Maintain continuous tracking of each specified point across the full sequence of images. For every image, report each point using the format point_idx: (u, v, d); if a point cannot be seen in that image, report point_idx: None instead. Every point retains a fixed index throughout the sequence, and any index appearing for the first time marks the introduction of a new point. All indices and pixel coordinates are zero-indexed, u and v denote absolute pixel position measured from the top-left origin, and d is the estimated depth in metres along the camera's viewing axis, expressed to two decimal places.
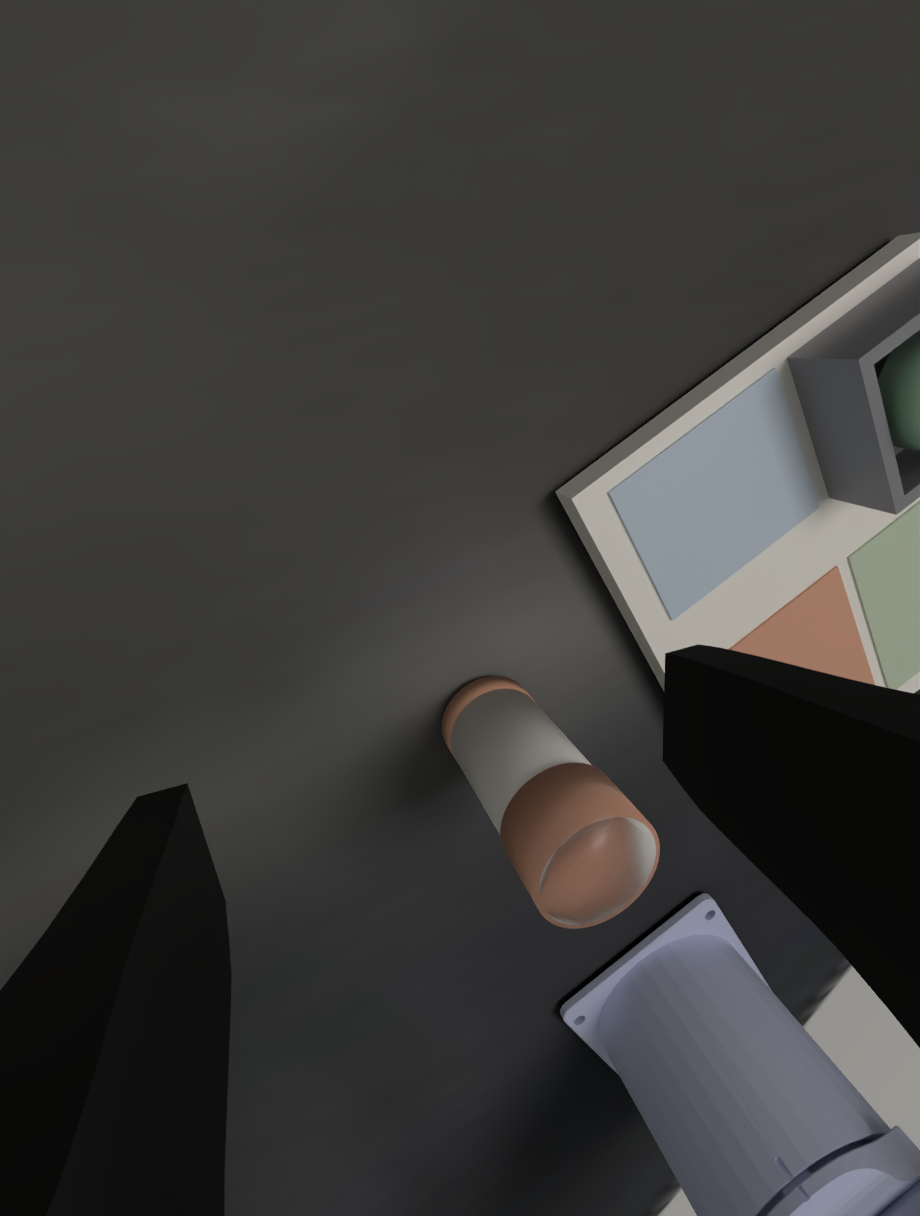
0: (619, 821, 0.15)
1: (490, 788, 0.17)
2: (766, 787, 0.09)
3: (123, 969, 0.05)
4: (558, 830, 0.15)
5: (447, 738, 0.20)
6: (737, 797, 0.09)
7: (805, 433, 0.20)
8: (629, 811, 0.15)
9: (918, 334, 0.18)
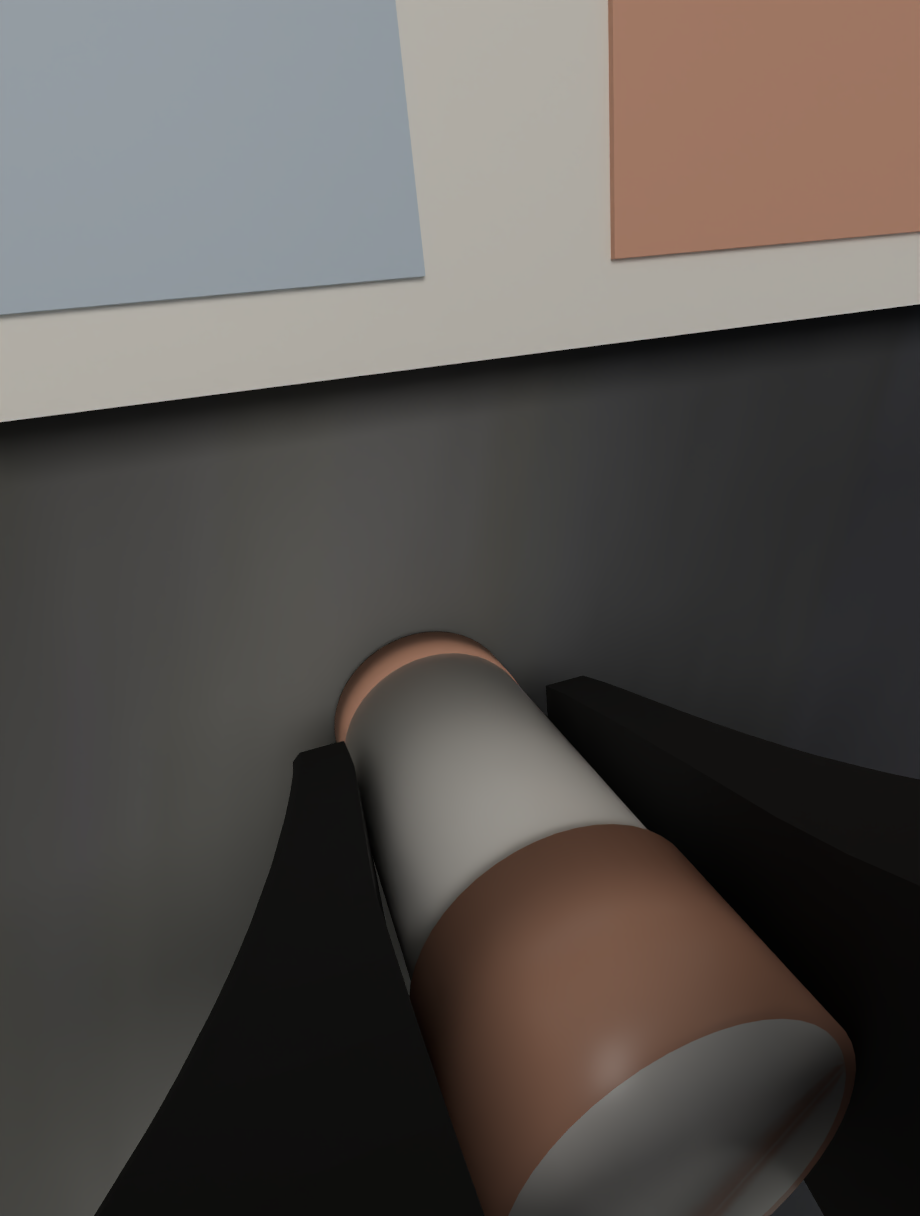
0: (570, 1141, 0.04)
1: None
2: None
3: (371, 886, 0.06)
4: None
5: None
6: None
7: None
8: (571, 1091, 0.04)
9: None
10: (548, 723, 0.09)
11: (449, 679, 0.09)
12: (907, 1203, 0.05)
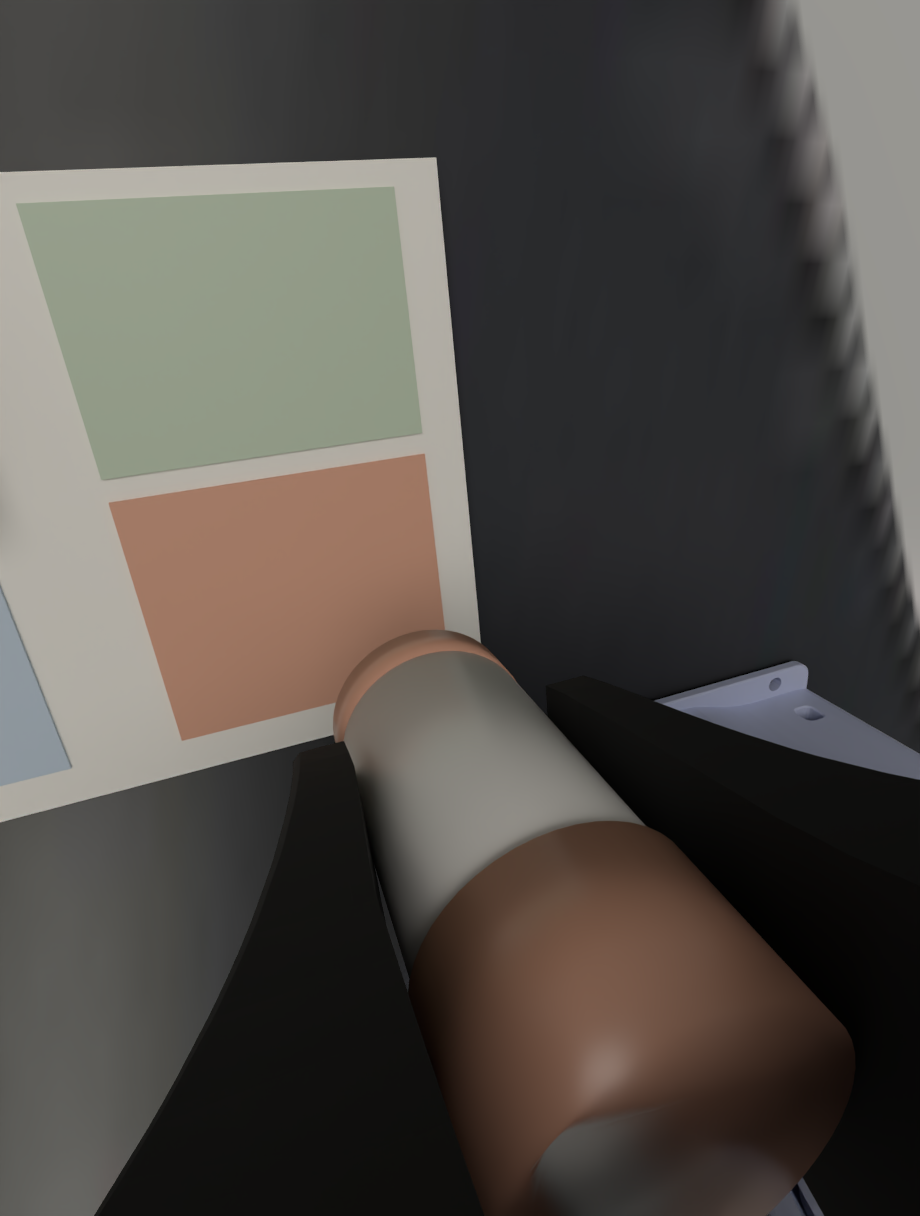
0: (572, 1136, 0.04)
1: None
2: None
3: (371, 886, 0.06)
4: None
5: None
6: None
7: None
8: (571, 1084, 0.04)
9: None
10: (547, 721, 0.09)
11: (448, 676, 0.09)
12: (905, 1203, 0.05)
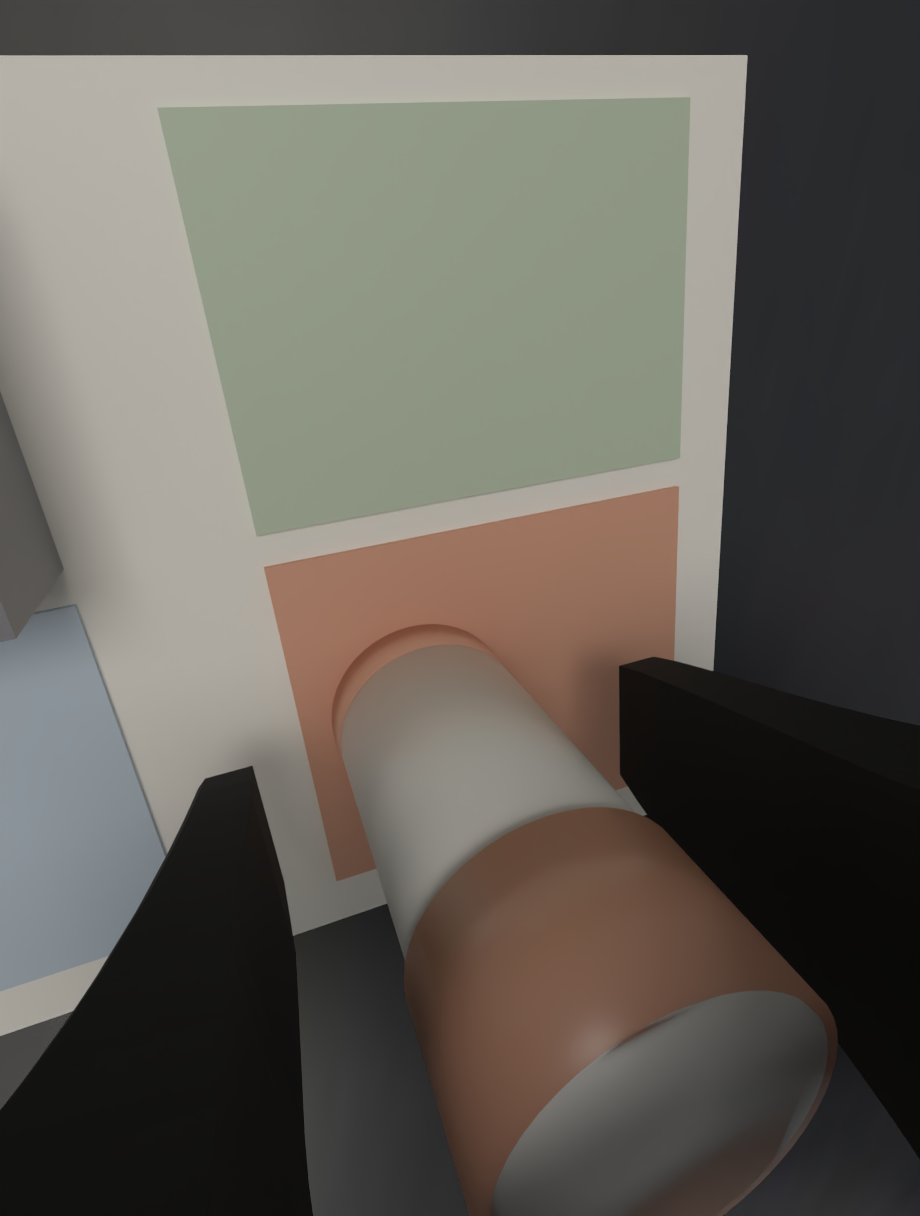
0: (559, 1106, 0.04)
1: None
2: (715, 805, 0.09)
3: (229, 934, 0.05)
4: (468, 1210, 0.05)
5: None
6: (688, 814, 0.09)
7: None
8: (558, 1056, 0.04)
9: None
10: (542, 712, 0.09)
11: (445, 669, 0.09)
12: None
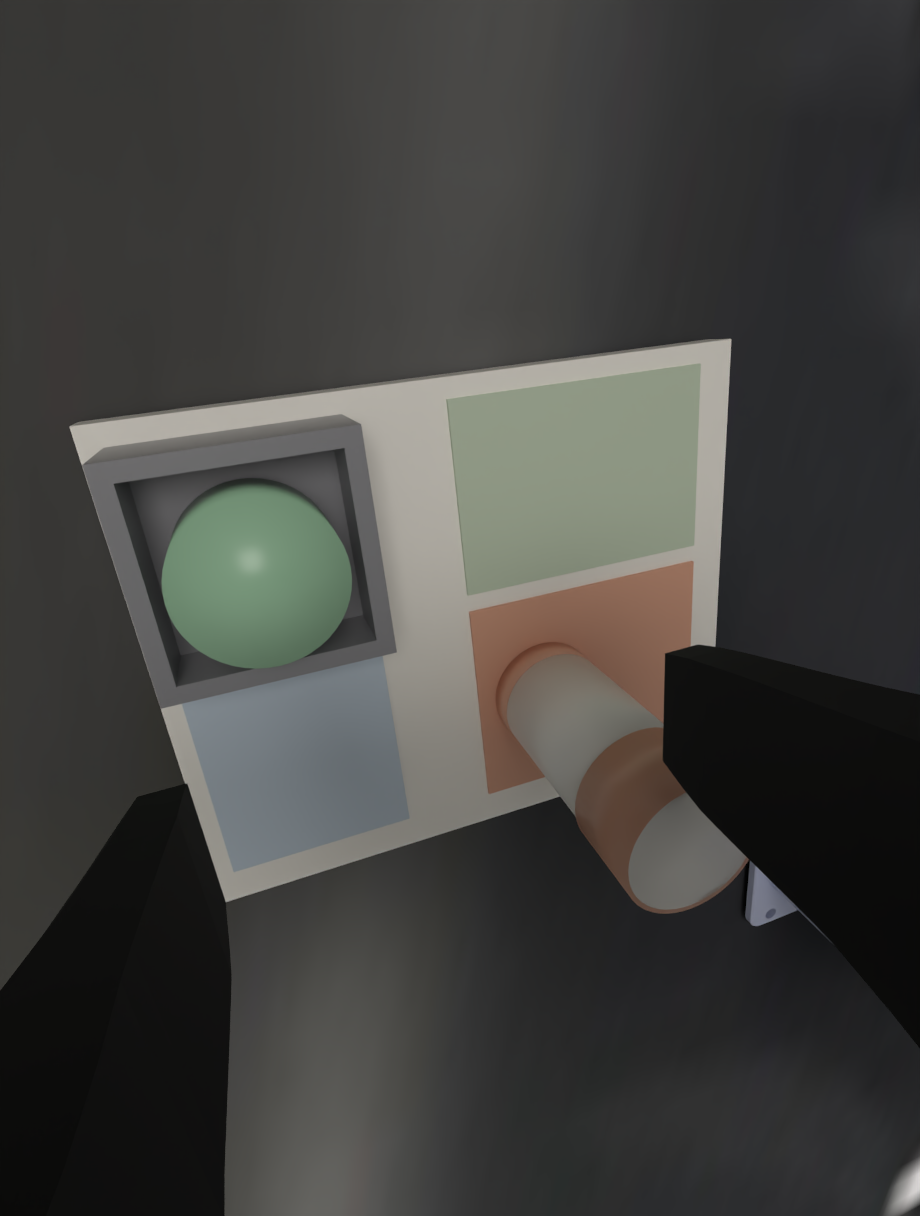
0: (655, 820, 0.13)
1: None
2: (766, 787, 0.09)
3: (123, 969, 0.05)
4: (617, 871, 0.13)
5: None
6: (737, 797, 0.09)
7: None
8: (656, 802, 0.13)
9: None
10: (623, 690, 0.17)
11: (569, 667, 0.17)
12: None
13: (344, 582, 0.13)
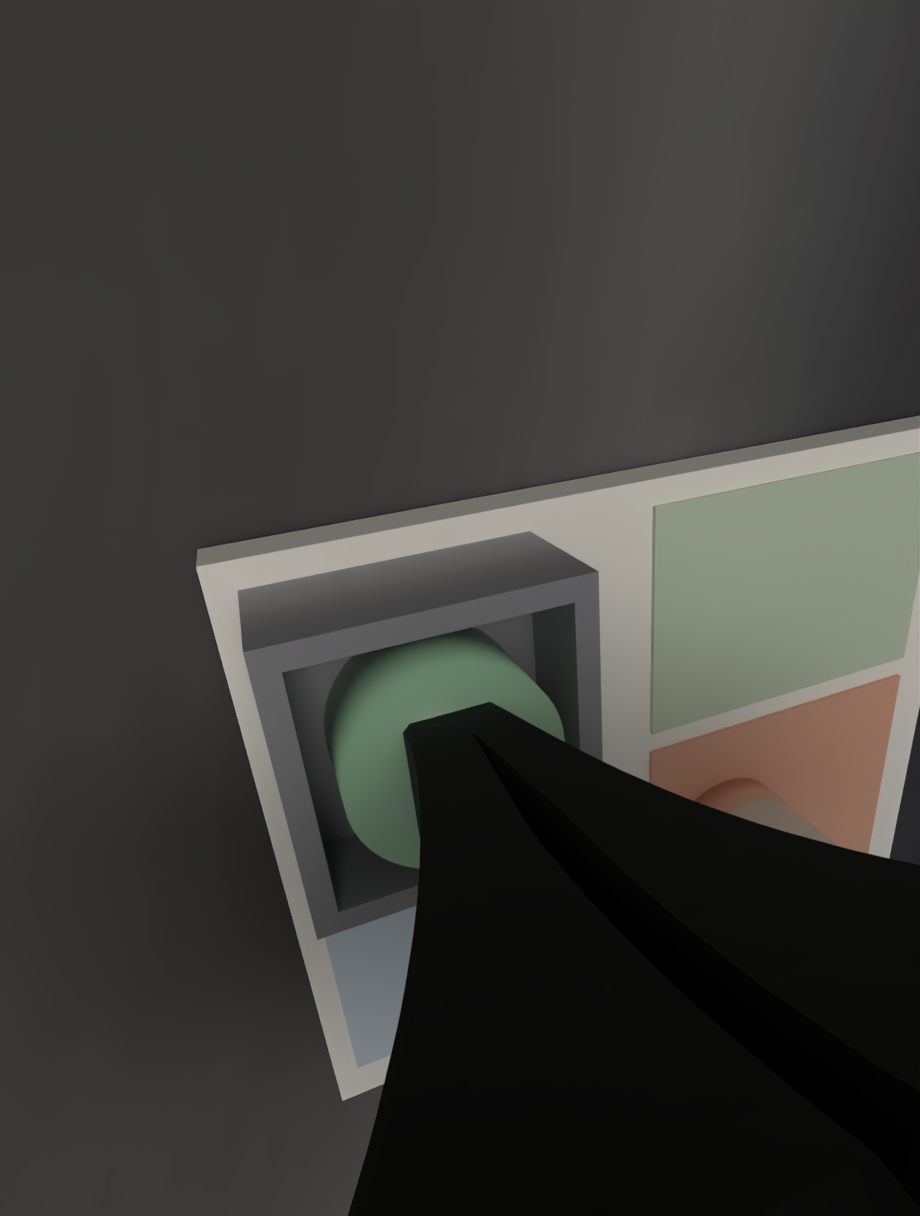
0: None
1: None
2: None
3: (529, 833, 0.06)
4: None
5: None
6: None
7: None
8: None
9: None
10: None
11: (779, 824, 0.14)
12: None
13: None
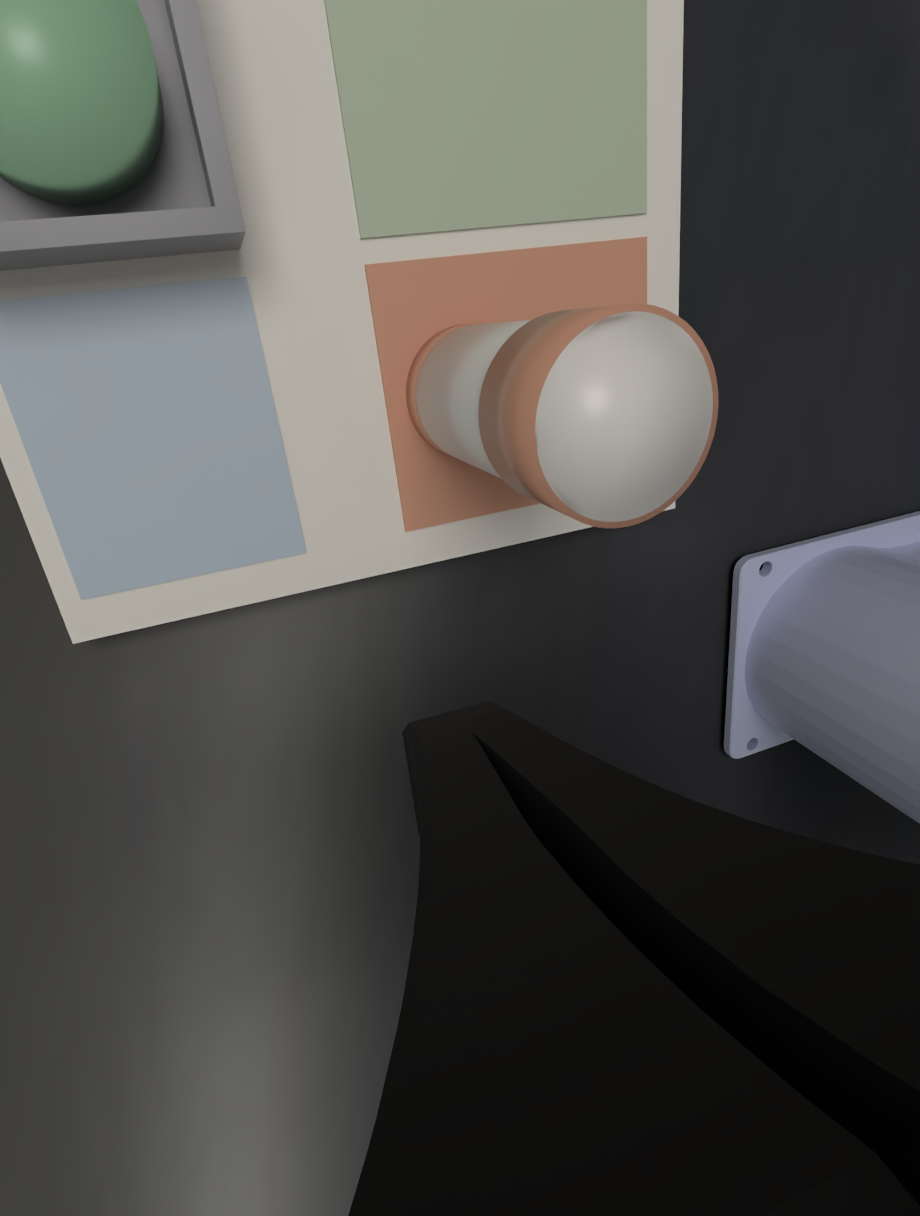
0: (569, 355, 0.09)
1: (486, 467, 0.13)
2: None
3: (529, 833, 0.06)
4: (523, 447, 0.10)
5: (451, 456, 0.16)
6: None
7: (108, 268, 0.13)
8: (569, 329, 0.09)
9: None
10: None
11: (488, 323, 0.14)
12: None
13: (144, 65, 0.10)
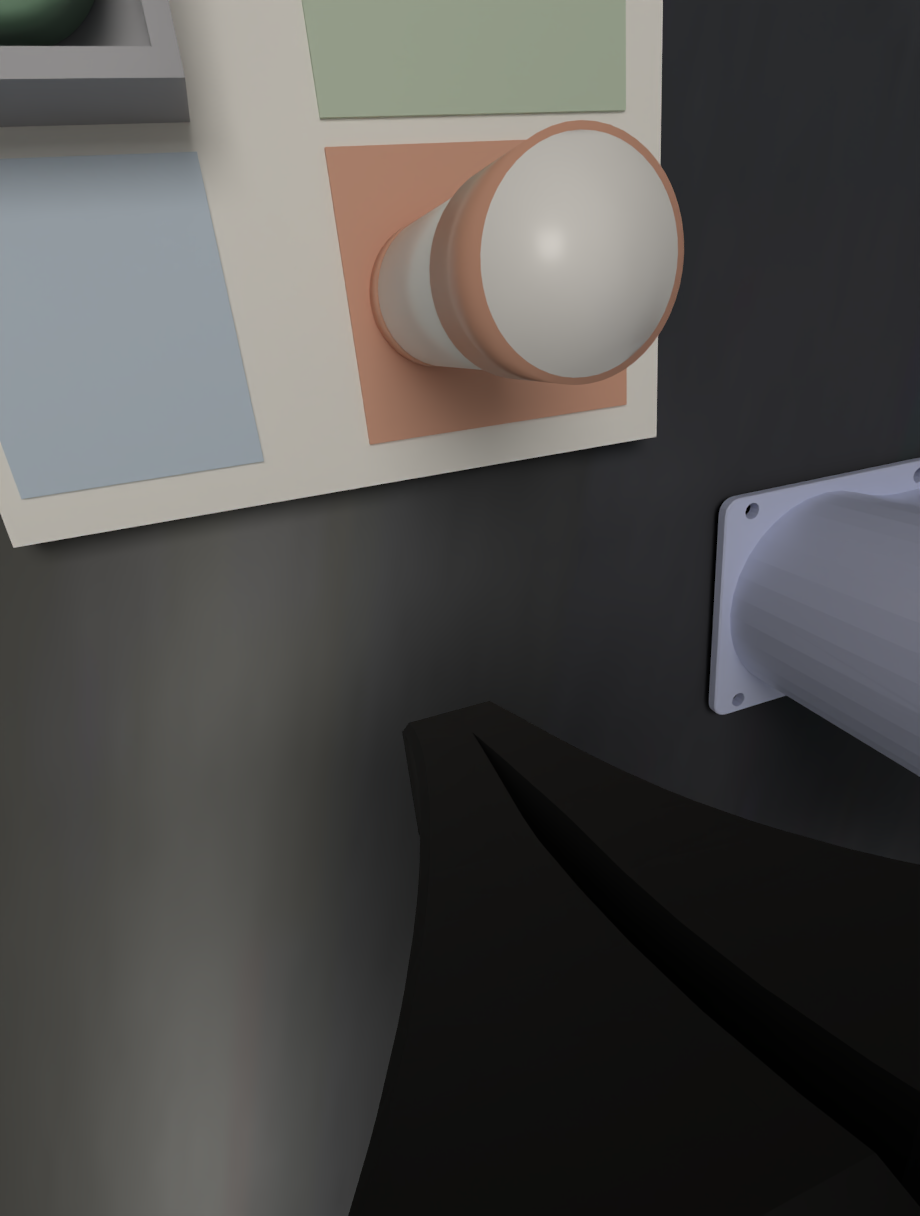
0: (517, 174, 0.08)
1: (443, 346, 0.12)
2: None
3: (529, 833, 0.06)
4: (468, 284, 0.09)
5: (416, 361, 0.15)
6: None
7: (47, 134, 0.12)
8: (517, 146, 0.08)
9: None
10: None
11: None
12: None
13: None
